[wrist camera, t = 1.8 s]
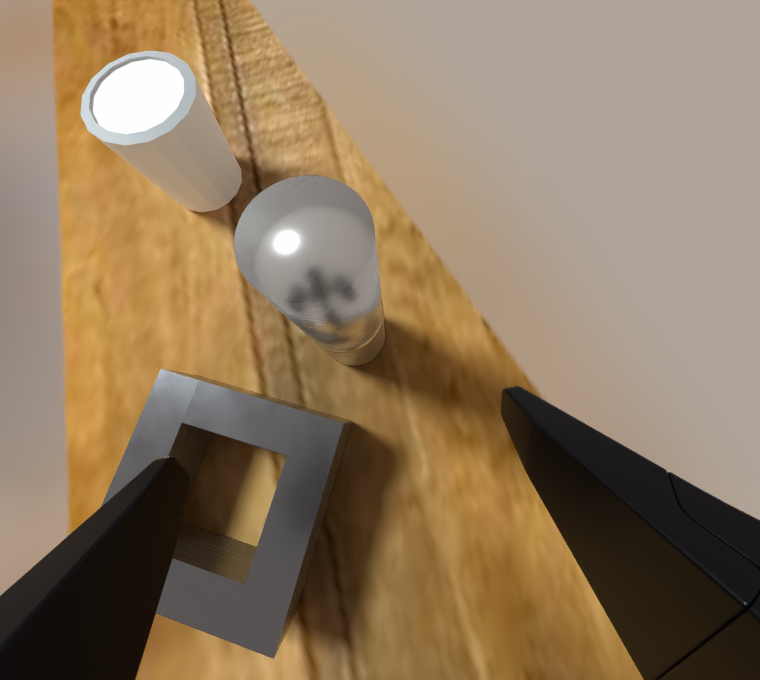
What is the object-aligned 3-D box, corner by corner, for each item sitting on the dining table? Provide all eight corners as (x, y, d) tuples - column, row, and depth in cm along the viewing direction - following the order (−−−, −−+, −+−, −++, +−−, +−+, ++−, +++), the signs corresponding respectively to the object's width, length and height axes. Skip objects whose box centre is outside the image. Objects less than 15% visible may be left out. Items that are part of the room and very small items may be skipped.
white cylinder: (238, 134, 26) (182, 34, 19) (259, 202, 24) (207, 119, 17) (157, 161, 25) (70, 69, 18) (174, 231, 24) (86, 159, 17)
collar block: (296, 611, 18) (273, 658, 14) (127, 549, 19) (69, 580, 16) (352, 421, 20) (343, 423, 17) (198, 375, 21) (160, 368, 18)
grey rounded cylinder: (375, 374, 21) (351, 321, 9) (315, 357, 21) (210, 284, 9) (392, 314, 22) (393, 189, 9) (334, 299, 22) (262, 161, 10)
